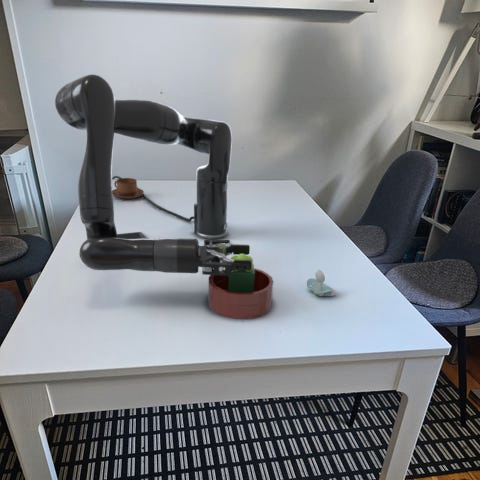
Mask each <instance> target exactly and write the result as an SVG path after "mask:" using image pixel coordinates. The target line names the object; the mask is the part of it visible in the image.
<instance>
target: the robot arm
mask: <svg viewBox="0 0 480 480" xmlns="http://www.w3.org/2000/svg"><path fill="white" fill-rule="evenodd" d="M54 106H55V109H56V112H57V114H58V116H59V117H60V118H61V119H62V120H63V122H65V123H66V124H67V125H69V126H70V127H72V128H74V129H77V130H82V131H86V145H85V146H86V147H85V152H84V156H83V161H82V165H81V168H80V172H79V176H78V183H77V184H78V185H77V194H78V195H77V196H78V205H79V208H78V209H79V216H80V220H81V223H82V224H83V226H84V227H85V233H86V240H85V241H83V243H82V244H81V246H80V247H79V258H80V260H81V262H82V263H83V265H85V267H87V268H89V269H91V270H94V271H119V270H120V271H121V270H131V271H138V272H159V273H167V274H197V273H198V272H199V268H201V274H202V275H204V276H210V275H223V276H230V275H231V272H233V271H234V270H243V271H250V270H251V268H252V261H251V260H235V259H234V260H232V259H231V258H230V257H228V256H230V255H231V256H232V255H233V256H238V255H239V254H245V255H246V256H249V255H250V251H251V250H250V249H251V246H250V244H239V243H236V244H235V243H233V242H231V240H230V239H222V238H225V237H226V236H227V228H228V222H227V219H228V218H227V216H228V215H227V213H228V179H229V172H230V168H231V161H232V159H231V158H232V145H233V133H232V129H231V126H230V125H229V124H228V123H226V122H225V121H222V120H214V119H207V118H195V117H188V116H184V115H182V114H181V113H180V112H178V111H177V110H176V109H175V108H173V107H170V106H168V105H166V104H163V103H160V102H156V101H153V100H147V99H116V98H115V93H114V91H113V89H112V87H111V85H110V83H109V82H108V81H107V80H106V79H105V78H103V77H102V76H100V75H97V74H87V75H84V76H81V77H79V78H77V79H75V80H73V81H70V82H68V83H66V84H65V85H64V86H62V87H61V88H60V89H59V90H58V91H57V93H56V95H55V98H54ZM115 134H117V135H121V136H125V137H127V138H133V139H136V140H141V141H145V142H148V143H153V144H158V145H164V146H172V145H173V146H174V145H180V146H183V147H185V148H188V149H190V150H192V151H195V152H197V153H200V154H204V155H208V163H207V164H206V165H201V166H199V167H198V168H197V169H196V173H195V175H196V202H194V203H193V215H192V216H190V217H189V218H187V217H185V216H182V215H180V214H179V213H175V212H174V211H171V210H168V209H166V208H165V207H162V206H160V205H158V204H157V203H155V202H153V200H151V199H150V198H149V197H147V196H146V194H144V193H143V194H142V195H141V196H142V198H144V199H145V200H146V201H147V202H148V203H150V204H151V205H152V206H154V207H156V208H157V209H159V210H161V211H163V212H165V213H167V214H169V215H172V216H175V217H177V218H179V219H181V220H183V221H186V222H191V221H193V234H194V235H197V236H198V237H199V238H203V239H204V240H203V245H199V244H200V242H199V239H197V238H183V237H163V238H146V239H121V238H118V237H117V234H118V232H117V228H116V224H115V211H114V210H115V209H114V208H115V207H114V196H113V194H112V190H113V181H112V180H115V179H117V180H118V179H121V178H122V177H121V176H119V175H114V176H112V175H113V174H112V173H113V172H112V171H113V156H114V155H113V154H114V141H115ZM223 270H225V271H223Z"/></svg>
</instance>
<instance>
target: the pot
mask: <svg viewBox="0 0 480 480" xmlns="http://www.w3.org/2000/svg"><path fill="white" fill-rule="evenodd" d="M223 271H225V270H223ZM254 272H255V278H254V292H253V293H235V292H228V276H223V275H208V281H207V282H208V284H207V285H208V288H207V289H208V290H207V294H208V295H207V297H208V298H207V299H208V306H209V308H210V309H211V311H213V312H214V313H216V314H217V315H220V316H223V317H225V318H229V319H230V318H231V319H239V320H246V319H255V318H258V317H261V316H263V315H265V314H267V313H268V312H269V311H270V310H271V307H272V302H273V295H274V294H273V292H274V280H273V277H272V275H270V274H269V273H268V272H266V271H264V270H261V269H258V268H255V267H254Z"/></svg>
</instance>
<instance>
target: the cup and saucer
mask: <svg viewBox="0 0 480 480" xmlns="http://www.w3.org/2000/svg"><path fill="white" fill-rule="evenodd" d="M137 186H138V181H137V179H136V178H131V177H121V179H118V178H117V180H115V181H114V187H115V189H112V194H113V197H115V198H117V199H124V200H131V199H138V198H139V197H141V196H142V194H144V189H141V188H138V187H137Z"/></svg>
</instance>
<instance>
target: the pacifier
mask: <svg viewBox="0 0 480 480" xmlns="http://www.w3.org/2000/svg"><path fill="white" fill-rule="evenodd" d="M314 277H315V278H308V279H307V280H306V287H307V289H308V290H310V291H312V292H313V294H314V295H316V296H319V297H324V296H326V297H333V296H334V295H335V294H336V291H335V290H334V289H333V288H332V287H331V286H329V285H327V284H326V283H324V282H325V281H326V276H325V273H324V272H323V271H322V270H321V269H317V270H316V271H315V273H314Z"/></svg>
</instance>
